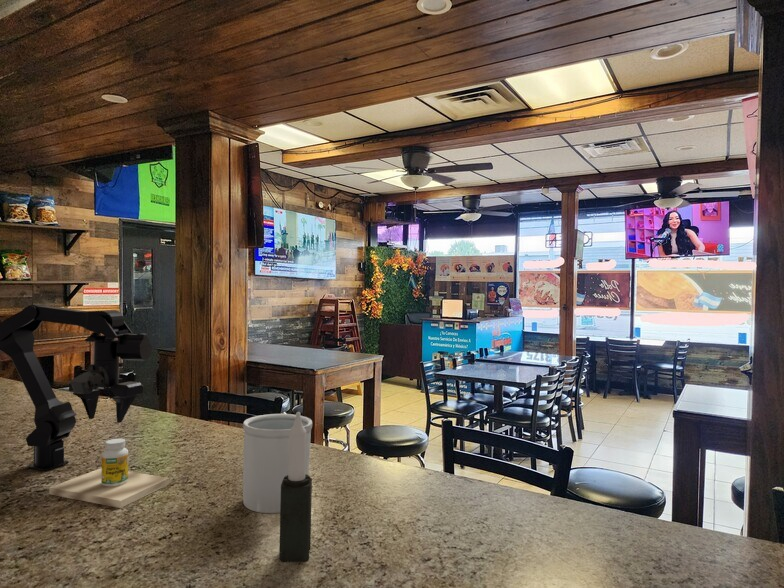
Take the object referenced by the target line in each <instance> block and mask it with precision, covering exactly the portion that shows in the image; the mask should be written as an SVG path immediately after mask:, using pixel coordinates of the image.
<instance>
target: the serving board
mask: <svg viewBox="0 0 784 588" xmlns="http://www.w3.org/2000/svg"><path fill="white" fill-rule="evenodd" d="M101 476H102V467H100V468H97V469H94V470H93V471H90V472H87V473H84V474H81V475H79V476H76V477H74V478H71V479H69V480H65V481H63V482H61V483H58V484H56V485H53V486H50V487H49V488H48V489H49V494H48V495H52V496H56V497H61V498H65V499H72V500H77V501H82V502H89V503H93V504H97V505H101V506H102V505H104V506H108V507H114V508H117V509H121V508H124V507H125V506H128V505H130V504H132V503H135V502H136V501H138V500H140V499H142V498H144V497H146V496H148V495H150V494H152V493H154V492H156V491H159V490H160V489H163V488H165V487H167V486H169V485H170V477H167V476H166V477H165V476H159V475H152V474H147V473H141V472H135V471H130V470H128V481H127V482H126V483H124V484H122V485H119V486H114V487H106V486H103V485H102V483H101Z"/></svg>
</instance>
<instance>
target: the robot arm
mask: <svg viewBox="0 0 784 588" xmlns="http://www.w3.org/2000/svg"><path fill="white" fill-rule="evenodd" d="M44 322H48V323H54V324H63V325H70V326H78V327H81V328H83V329H85V330H87V331H89V332H91V334H90V335H89V336H88V337H86V338H85V339H84V341H85V342H87V343H89V342H90V343H91V342H93V363H91V364H90V363H89V365H88V369H87V371H86V372H83V373H81V374H79V375H78V376H76V377H74V378H72V379H71V380H70V381H69V383H68V392H71V393H72V395H74V396H76V397H77V398H79V399H80V400H81V402H82V404H83V407H84V409H85V413H86V415H87V417H88V419H89V420H94V418H95V415H96V411H97V407H98V403H99V398H100V393H101V391H107V392H112V394H113V395H114V396H112V397H111V399H112V400H113V401H114V402H115V405H116V407H115V409H116V411H115V412H116V414H115V416H116V422H117V423H118V424H120V423H122V422H123V420H124V419H125V416H126V414H127V413H128V411H129V409H130V407H131V405H132V404H133V402H134V401H135V399H136V398H137V397H139V396H140V395H141V394H143V393H144V385H143V384H142V383H141V382H140V381H139V382H138V381H126V382H125V381H123V380H124V379H123V378H120V368H122V367H123V366H124V362H121V361H120V359H121V360H122V361H147V360H149V359H150V357H151V355H152V350H153V349H152V348H153V347H152V343H151V340H150V339H148V333H134V332H133V331H132V329H130V327H129V325H128V324H127V322H125V318H124V316H123V314H122V312H121V311H119V310H116V309H109V310H81V309H80V310H79V309H74V308H67V307H57V306H51V305H46V304H41V303H40V304H29V305H27V306H26V307H24V308H23V309H21V310H20V311H18V312H16V313H15V314H13V315H11V316H8V317H7V318H5V319H4V320H3V321H1V322H0V351H1V352H2V353H3V354H5V355H6V356H7V357H9V358H10V359H11V362H12V363H13V365H14V367H15V369H16V371H17V374H18V376H19V377H20V380H21V381H22V383H23V385H24V387H25V390H26V391H27V394H28V395H29V398H30V400H31V402H32V404H33V406H34V408H35V411H34V417H33V421H34V424H35V426H34V427H35V428H34V429H33V431H32V432H31V433H29V434H28V435H27V436H26V437H25V441H26V444H27V446H28V447H33V463H32V464H28V465H27V468H28V469H32V470H39V471H46V472H47V471H49V470H52V469H55V468H57V467H61V466H64V465H66V464H69V463H70V461H69V460H65V447H64V442H65V441H64V439H68V438H69V437H70V434H71V431H73V430H74V428H75V427H76V423H77V418H76V416H77V413H76V412H75V411H74V410H73V407H72V404H71V402H70V401H66V402H62V401H60V400H59V399H58V397H57V396H56V394H55V392H54V389H53V388H52V386H51V383H50V381H49V380H48V378H47V377H48V376H46V374H45V371H44V369H43V367H42V366H41V363H40V361H39V359H38V358H37V355H36V353H35V351H34V345H35V344H34V343H35V336H34V332H36V331H37V330H38V329H39V328H40V327H41V325H42V324H43V323H44Z"/></svg>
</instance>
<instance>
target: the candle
mask: <svg viewBox="0 0 784 588" xmlns="http://www.w3.org/2000/svg"><path fill="white" fill-rule="evenodd" d="M295 415H296V419H295V422H294V425H293V427H292V428H291V430H290V432H289V471H288V475H287V476H285V477H284V479H283V481H282V484H281V502H280V513H279V552H278V553H279V554H278V556H279V557H278V559H279V561H280V562H282V563H304V562H307V561H309V559H310V551H311V542H312V541H311V539H312V537H311V535H312V500H313V498H312V496H313V495H312V493H313V491H312V490H313V489H312V488H313V479H312V477H311V476H310V475H307V474H305V466H306V430H305V428H304V427H303V425H302V421H301V418H300V416H302V415H301V412H300V411H296V413H295ZM309 550H310V551H309Z"/></svg>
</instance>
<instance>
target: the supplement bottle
mask: <svg viewBox="0 0 784 588" xmlns="http://www.w3.org/2000/svg"><path fill="white" fill-rule="evenodd" d="M104 447H105V450H104V451H103V452H102V453H101V468H102V476H101V483H102V485H103V486H106V487H114V486H119V485H122V484H124V483H126V482H127V481H128V471H129V450H128V448H127V447H126V439H125V438H112V439H109V440H106V441H105V443H104Z"/></svg>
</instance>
